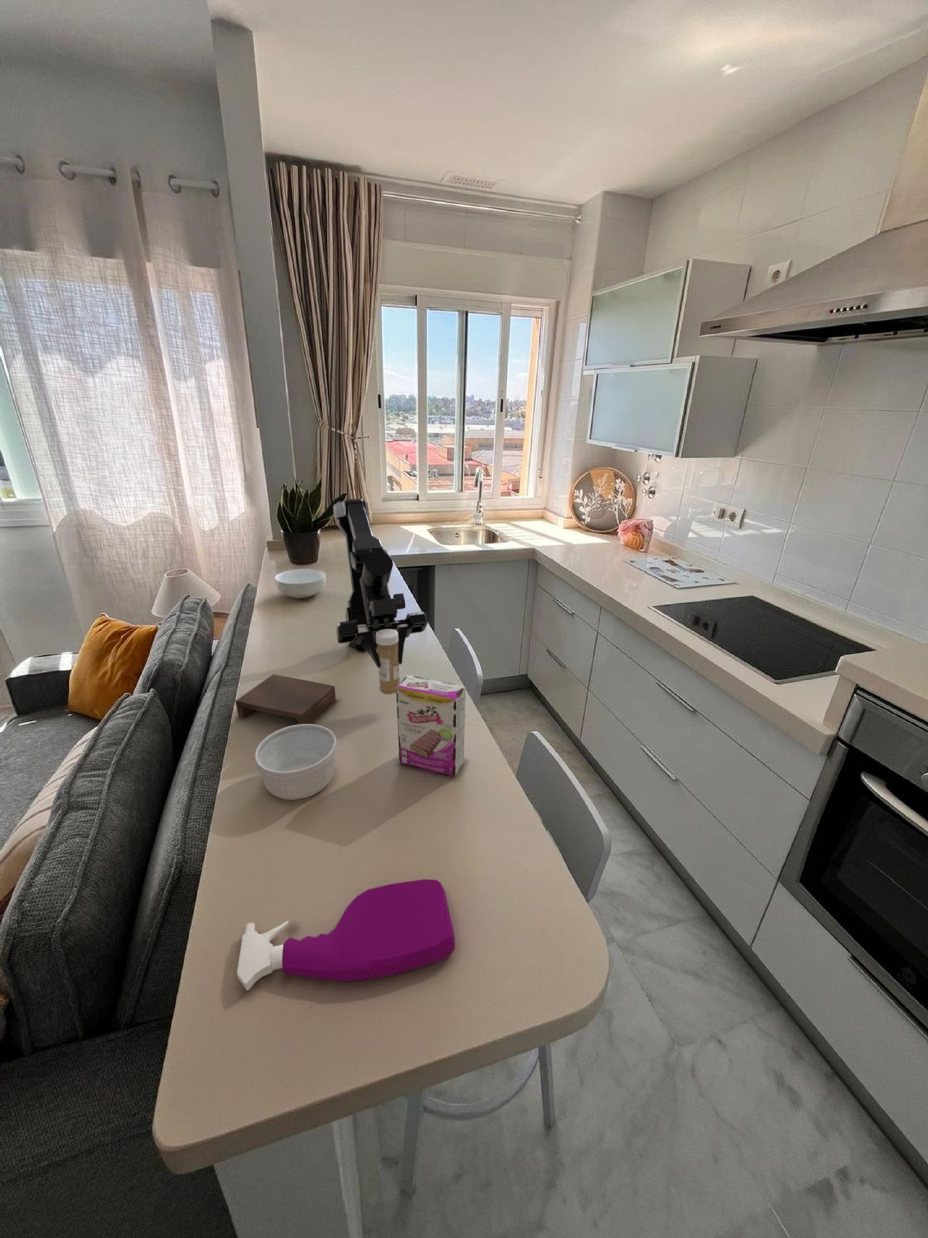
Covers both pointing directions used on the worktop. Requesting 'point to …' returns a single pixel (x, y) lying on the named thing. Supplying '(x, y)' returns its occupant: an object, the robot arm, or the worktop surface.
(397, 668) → the sprinkles bottle
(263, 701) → the shelf
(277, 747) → the ramekin
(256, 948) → the spray bottle
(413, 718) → the candy bar box
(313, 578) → the cereal bowl
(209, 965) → the worktop surface
